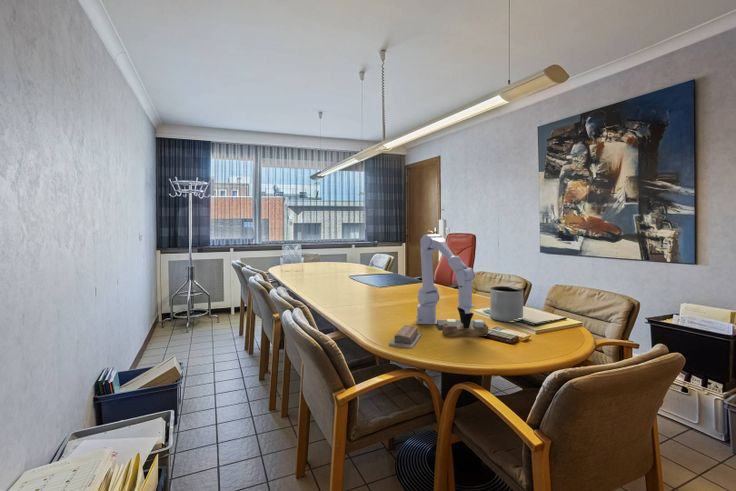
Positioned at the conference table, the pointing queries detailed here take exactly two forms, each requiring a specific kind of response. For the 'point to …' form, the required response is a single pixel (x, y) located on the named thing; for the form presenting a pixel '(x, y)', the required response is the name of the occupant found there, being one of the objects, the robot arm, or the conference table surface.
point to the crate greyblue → (478, 323)
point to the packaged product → (406, 337)
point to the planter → (506, 303)
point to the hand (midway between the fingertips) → (464, 325)
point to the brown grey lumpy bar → (464, 330)
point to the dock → (440, 322)
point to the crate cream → (451, 323)
